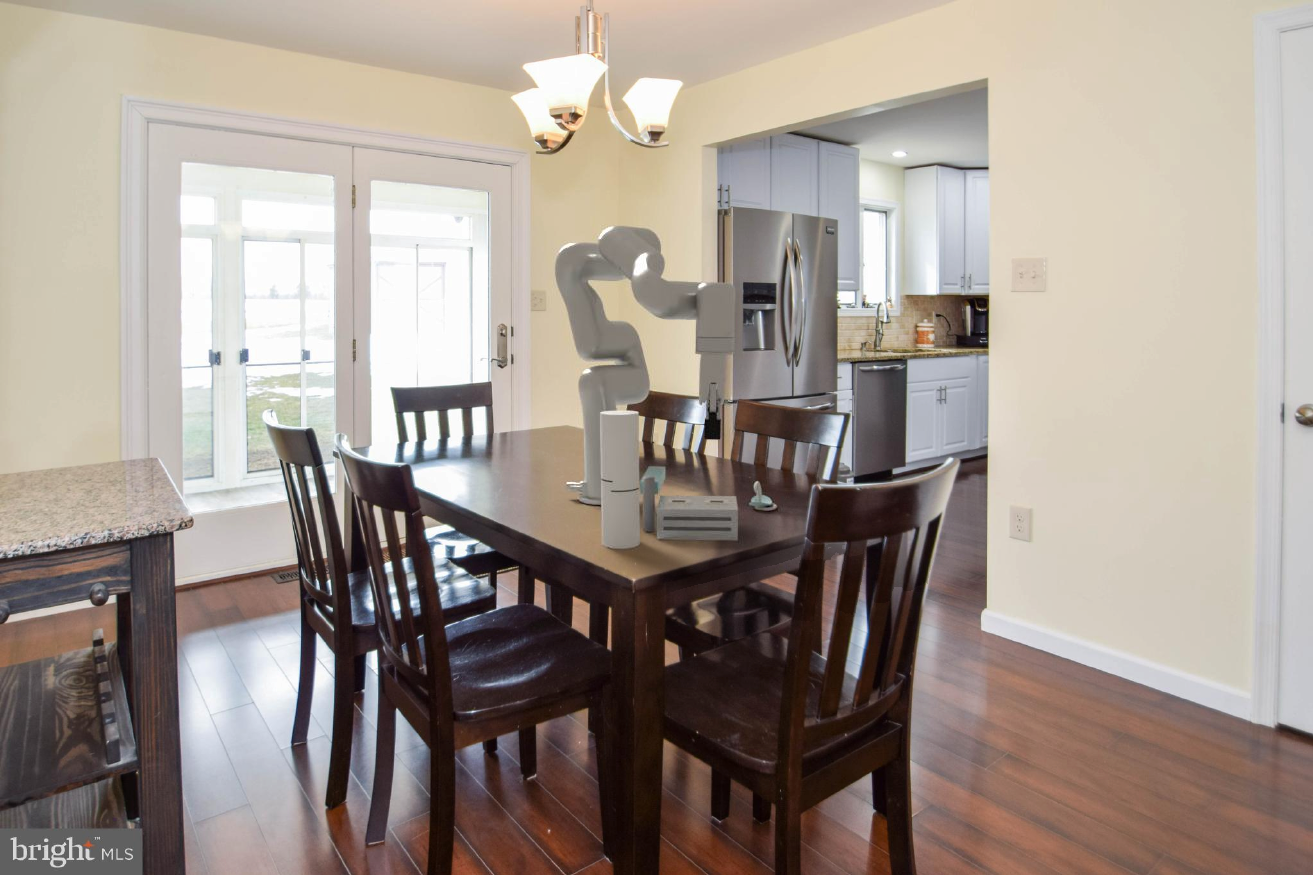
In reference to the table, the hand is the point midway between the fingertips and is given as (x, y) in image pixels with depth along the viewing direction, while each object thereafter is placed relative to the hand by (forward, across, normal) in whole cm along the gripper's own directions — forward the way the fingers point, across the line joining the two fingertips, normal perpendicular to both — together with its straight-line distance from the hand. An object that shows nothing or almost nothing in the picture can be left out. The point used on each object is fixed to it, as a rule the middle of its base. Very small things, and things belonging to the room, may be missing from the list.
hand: (712, 438), depth 160 cm
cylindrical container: (+19, +12, -17) cm, 28 cm away
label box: (+18, +3, -2) cm, 19 cm away
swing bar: (+18, -5, -12) cm, 23 cm away
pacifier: (+19, -18, +12) cm, 29 cm away
